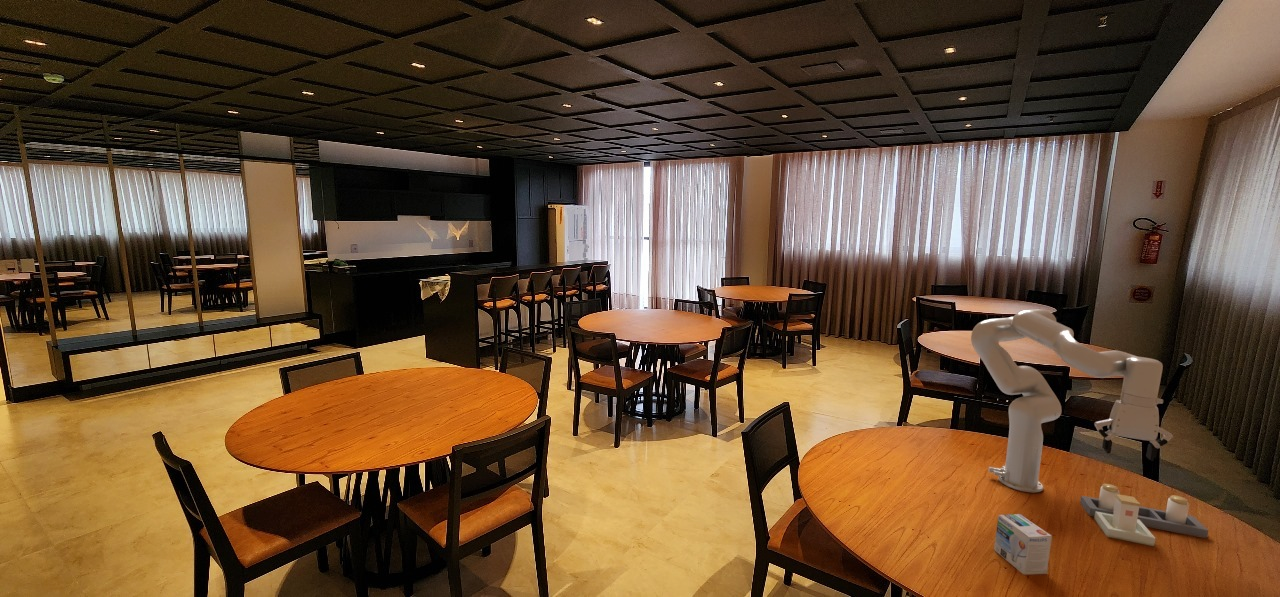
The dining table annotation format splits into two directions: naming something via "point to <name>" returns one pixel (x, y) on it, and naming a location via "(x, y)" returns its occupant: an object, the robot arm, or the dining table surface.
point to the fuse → (1125, 513)
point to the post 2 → (1177, 509)
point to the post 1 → (1107, 496)
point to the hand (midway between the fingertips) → (1128, 455)
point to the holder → (1152, 519)
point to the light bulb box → (1022, 544)
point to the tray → (1138, 536)
